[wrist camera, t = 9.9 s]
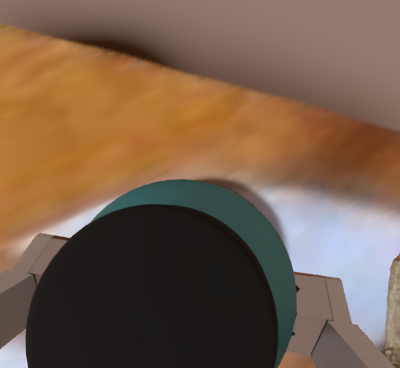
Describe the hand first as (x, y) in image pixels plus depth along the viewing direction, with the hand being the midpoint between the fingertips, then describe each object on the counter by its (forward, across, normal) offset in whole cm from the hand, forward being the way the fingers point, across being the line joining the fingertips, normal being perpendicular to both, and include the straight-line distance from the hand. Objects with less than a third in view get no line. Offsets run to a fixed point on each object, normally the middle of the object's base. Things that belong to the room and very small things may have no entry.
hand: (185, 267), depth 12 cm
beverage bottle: (+9, 0, +10) cm, 13 cm away
